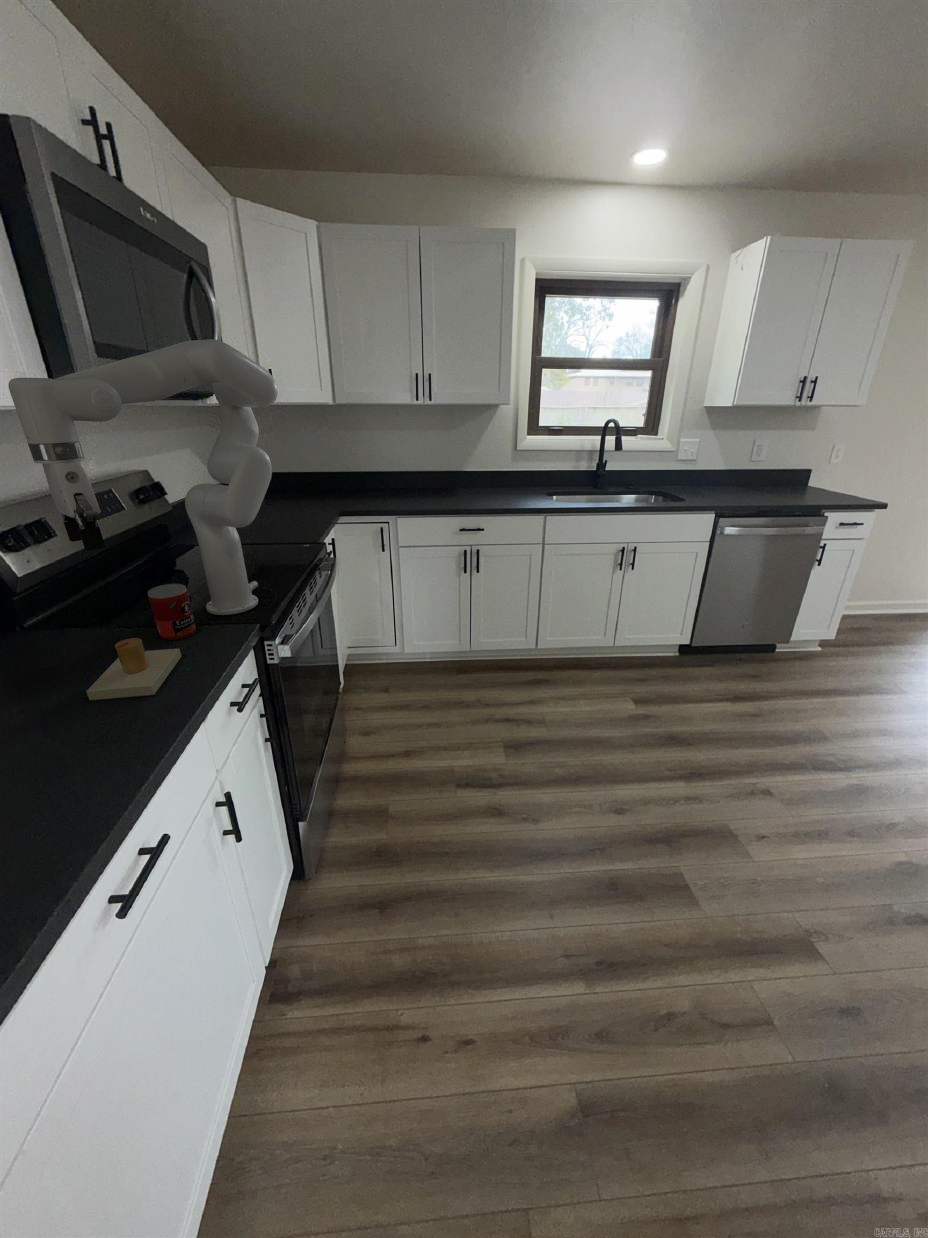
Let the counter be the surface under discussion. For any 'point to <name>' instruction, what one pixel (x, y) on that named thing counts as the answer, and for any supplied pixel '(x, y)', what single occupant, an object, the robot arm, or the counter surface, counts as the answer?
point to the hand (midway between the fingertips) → (87, 544)
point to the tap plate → (135, 677)
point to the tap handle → (132, 655)
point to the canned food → (172, 611)
